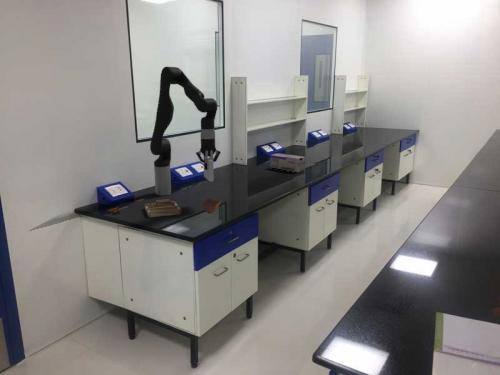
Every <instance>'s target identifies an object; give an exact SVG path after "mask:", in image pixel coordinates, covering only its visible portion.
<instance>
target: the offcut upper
mask: <svg viewBox="0 0 500 375" xmlns="http://www.w3.org/2000/svg"><path fill="white" fill-rule="evenodd" d="M171 202H172V201H171V199H169V198H166V199H157V200H155V203H156V206H157V207H159V206H167V205H171Z"/></svg>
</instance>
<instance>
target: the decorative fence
mask: <svg viewBox="0 0 500 375" xmlns="http://www.w3.org/2000/svg"><path fill="white" fill-rule="evenodd" d="M139 201H140V202H141V201H146V199H145V198H140V199H138V200H136V202H139ZM119 208H120V206H117V207H115V208H110V209H108V210H107V211H106V212H108V213H112V214H119V215H120V210H119Z"/></svg>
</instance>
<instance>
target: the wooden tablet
mask: <svg viewBox="0 0 500 375" xmlns="http://www.w3.org/2000/svg"><path fill="white" fill-rule="evenodd" d="M222 202H223V199H222V198H219V199H213V198H206V199H205V200H204V201H203V202H202V203H201V205H200V206H201V207H202V209H204V210H205V211H206V212H207V214H210V215H211V214H213V213H215V212H216V211H217V210H218V207H219V206H220V205H221V203H222Z"/></svg>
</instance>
